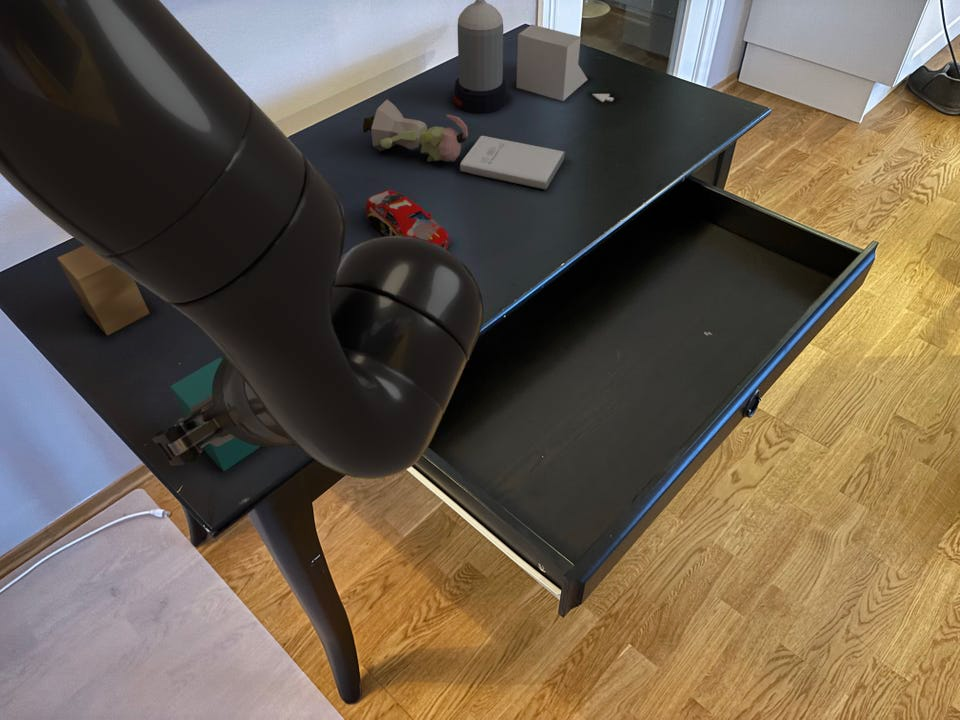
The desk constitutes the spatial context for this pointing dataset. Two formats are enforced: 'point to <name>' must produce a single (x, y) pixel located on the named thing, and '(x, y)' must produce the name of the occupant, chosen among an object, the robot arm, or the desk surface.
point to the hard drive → (512, 162)
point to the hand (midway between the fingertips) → (234, 403)
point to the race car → (403, 218)
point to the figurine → (414, 134)
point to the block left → (103, 289)
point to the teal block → (199, 389)
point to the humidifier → (480, 60)
